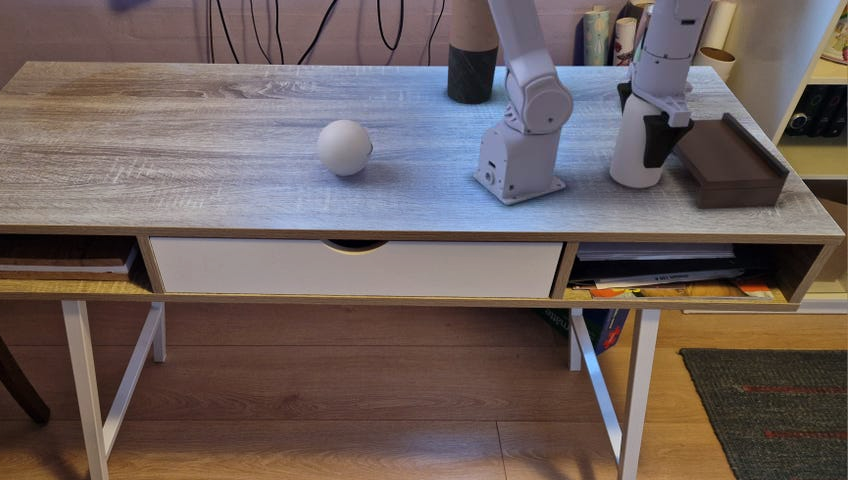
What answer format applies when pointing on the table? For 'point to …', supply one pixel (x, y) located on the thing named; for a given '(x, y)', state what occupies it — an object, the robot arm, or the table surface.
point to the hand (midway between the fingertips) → (641, 151)
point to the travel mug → (471, 51)
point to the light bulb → (344, 147)
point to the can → (634, 146)
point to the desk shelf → (730, 165)
